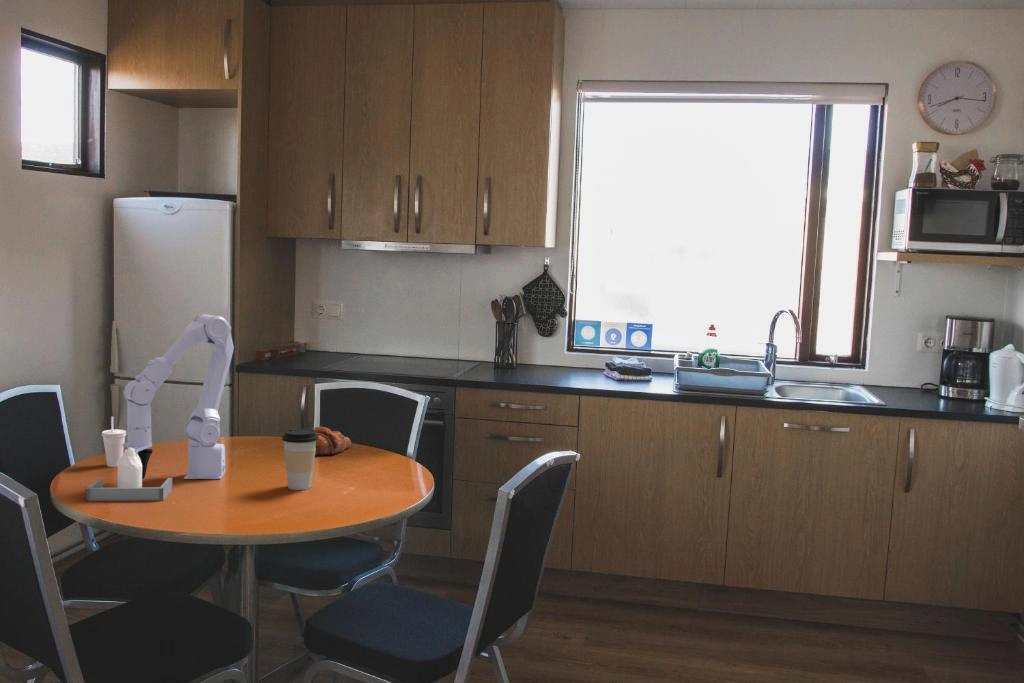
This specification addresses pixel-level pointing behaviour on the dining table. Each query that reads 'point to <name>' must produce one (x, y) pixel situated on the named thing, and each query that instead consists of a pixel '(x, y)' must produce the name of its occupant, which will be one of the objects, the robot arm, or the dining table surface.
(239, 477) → the dining table surface
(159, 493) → the box
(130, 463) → the white rounded-top container
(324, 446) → the pastry
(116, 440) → the smoothie
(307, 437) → the coffee cup
